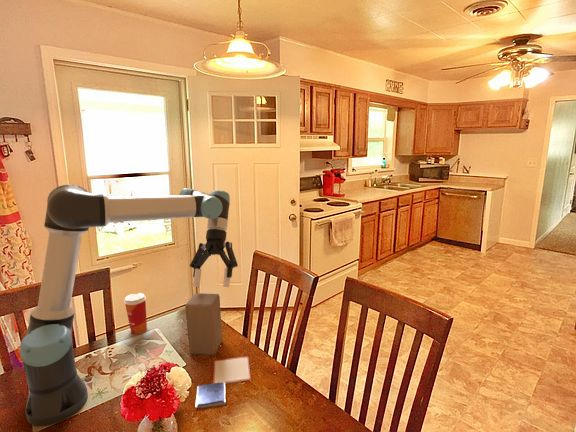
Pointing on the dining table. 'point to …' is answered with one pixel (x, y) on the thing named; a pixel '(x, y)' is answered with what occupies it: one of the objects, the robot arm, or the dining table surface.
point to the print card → (231, 370)
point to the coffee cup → (136, 312)
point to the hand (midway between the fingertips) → (210, 286)
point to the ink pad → (210, 395)
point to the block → (204, 323)
